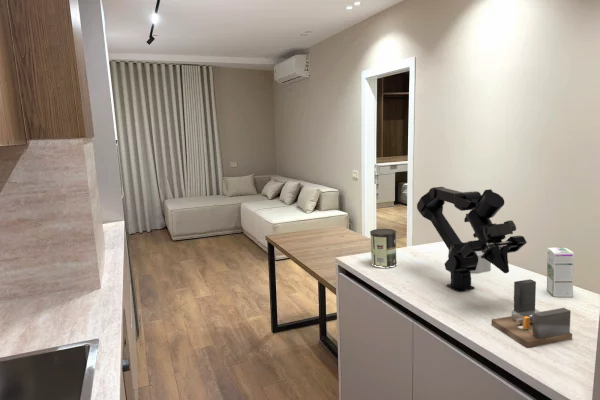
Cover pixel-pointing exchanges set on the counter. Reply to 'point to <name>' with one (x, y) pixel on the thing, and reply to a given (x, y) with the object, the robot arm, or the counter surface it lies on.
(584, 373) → the counter surface
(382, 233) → the coffee can
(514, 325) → the base
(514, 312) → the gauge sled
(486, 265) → the grey block
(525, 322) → the cylinder
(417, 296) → the counter surface
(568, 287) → the syrup box
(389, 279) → the counter surface
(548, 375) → the counter surface
